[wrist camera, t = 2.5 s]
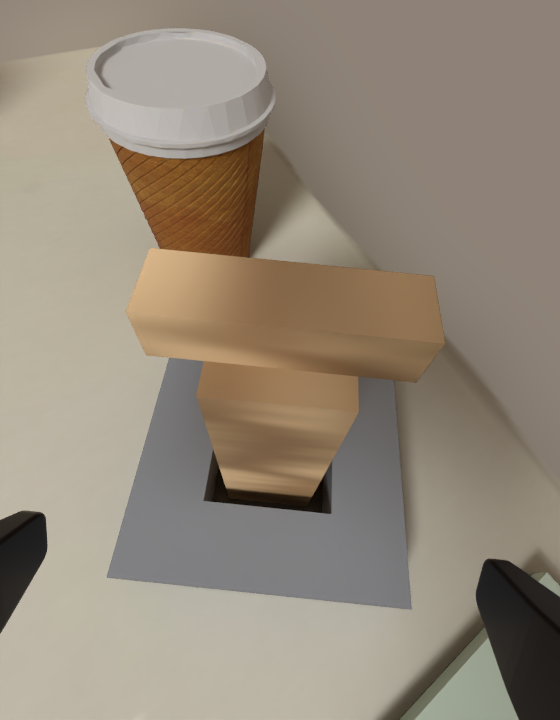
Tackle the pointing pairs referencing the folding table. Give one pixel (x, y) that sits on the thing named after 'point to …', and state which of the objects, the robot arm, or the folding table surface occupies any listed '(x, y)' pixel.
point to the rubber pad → (471, 683)
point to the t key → (282, 354)
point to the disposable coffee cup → (186, 131)
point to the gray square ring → (267, 511)
